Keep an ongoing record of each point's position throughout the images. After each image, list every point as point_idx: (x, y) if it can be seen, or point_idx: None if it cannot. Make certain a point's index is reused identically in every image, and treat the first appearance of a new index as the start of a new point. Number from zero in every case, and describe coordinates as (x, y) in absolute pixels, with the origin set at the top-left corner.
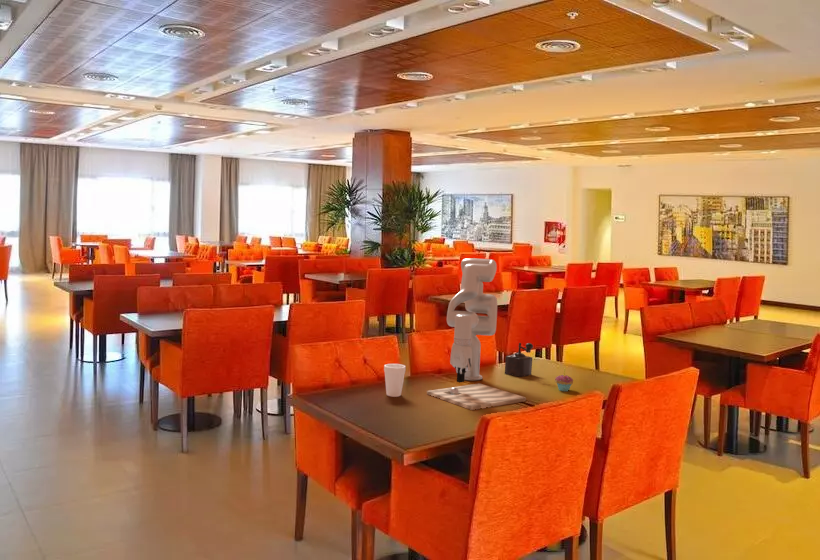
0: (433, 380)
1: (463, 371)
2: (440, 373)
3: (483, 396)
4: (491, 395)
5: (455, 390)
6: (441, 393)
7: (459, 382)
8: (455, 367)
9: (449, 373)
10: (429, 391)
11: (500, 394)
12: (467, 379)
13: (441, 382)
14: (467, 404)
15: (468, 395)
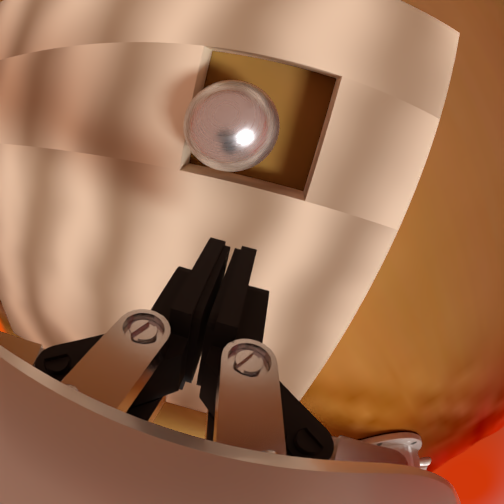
0: (499, 360)
1: (78, 348)
2: (477, 423)
3: (51, 226)
4: (56, 279)
5: (192, 104)
6: (314, 22)
7: (211, 241)
8: (316, 442)
9: (450, 439)
10: (436, 24)
11: (62, 323)
12: (371, 439)
13: (466, 363)
14: (8, 3)
15: (106, 162)
